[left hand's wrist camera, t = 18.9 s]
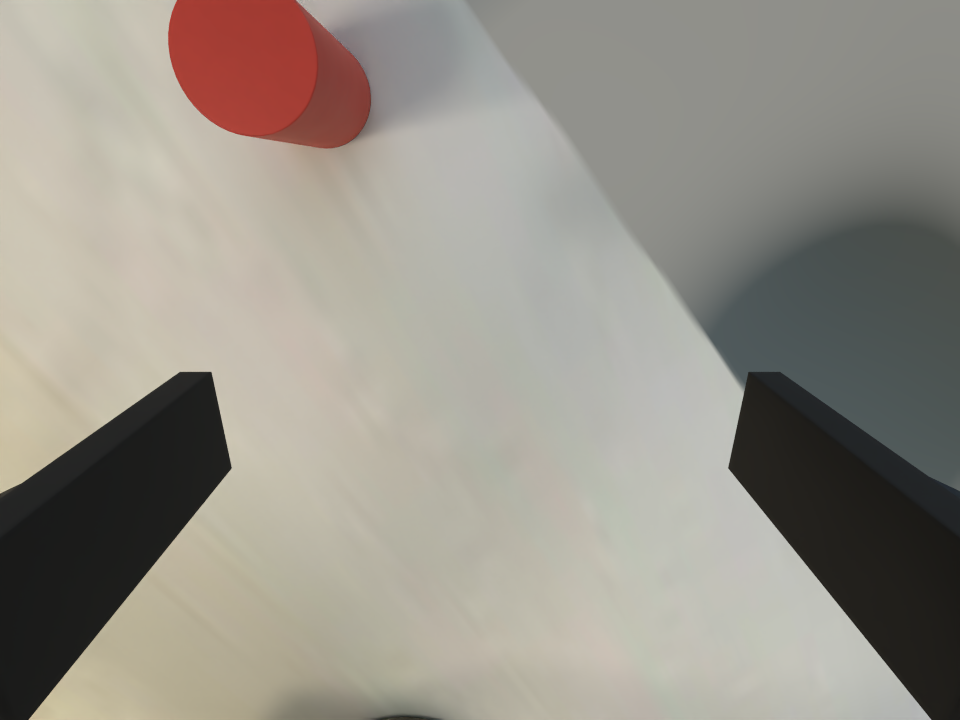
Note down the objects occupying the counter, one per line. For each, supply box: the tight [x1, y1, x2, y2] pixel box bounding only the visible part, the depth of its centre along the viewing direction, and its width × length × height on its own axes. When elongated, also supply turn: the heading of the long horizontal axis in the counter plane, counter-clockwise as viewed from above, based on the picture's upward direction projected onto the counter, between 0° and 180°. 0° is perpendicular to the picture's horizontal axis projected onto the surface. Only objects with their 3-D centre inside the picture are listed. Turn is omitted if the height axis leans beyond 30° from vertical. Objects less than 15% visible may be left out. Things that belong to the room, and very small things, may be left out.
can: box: [168, 0, 371, 148], centre depth 23 cm, size 6×6×10 cm
